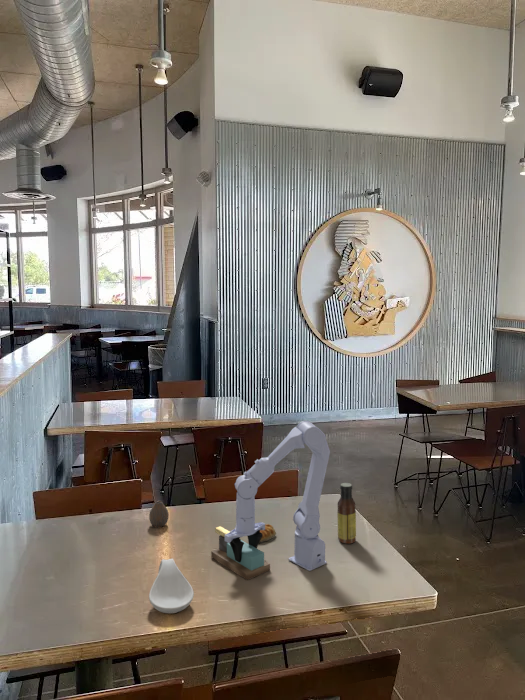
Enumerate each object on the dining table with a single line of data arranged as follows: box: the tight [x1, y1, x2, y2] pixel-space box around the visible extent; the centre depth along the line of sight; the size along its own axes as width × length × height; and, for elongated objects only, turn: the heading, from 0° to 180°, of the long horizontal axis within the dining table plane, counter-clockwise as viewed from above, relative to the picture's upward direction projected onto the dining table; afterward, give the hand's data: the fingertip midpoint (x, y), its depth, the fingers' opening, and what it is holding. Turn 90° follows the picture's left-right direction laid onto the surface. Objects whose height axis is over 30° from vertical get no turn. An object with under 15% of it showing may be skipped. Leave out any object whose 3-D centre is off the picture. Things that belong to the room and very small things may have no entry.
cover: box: [227, 539, 265, 571], centre depth 161 cm, size 12×5×4 cm, turn 41°
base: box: [210, 535, 271, 581], centre depth 163 cm, size 18×9×6 cm, turn 41°
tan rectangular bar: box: [214, 525, 231, 538], centre depth 169 cm, size 6×2×2 cm, turn 41°
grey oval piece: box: [148, 500, 170, 528], centre depth 190 cm, size 7×7×9 cm
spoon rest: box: [148, 558, 195, 614], centre depth 145 cm, size 24×12×7 cm, turn 16°
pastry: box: [259, 523, 277, 544], centre depth 181 cm, size 9×7×4 cm
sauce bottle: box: [336, 482, 357, 545], centre depth 179 cm, size 7×6×20 cm
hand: (245, 557), depth 161 cm, fingers closed on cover, 5 cm apart
